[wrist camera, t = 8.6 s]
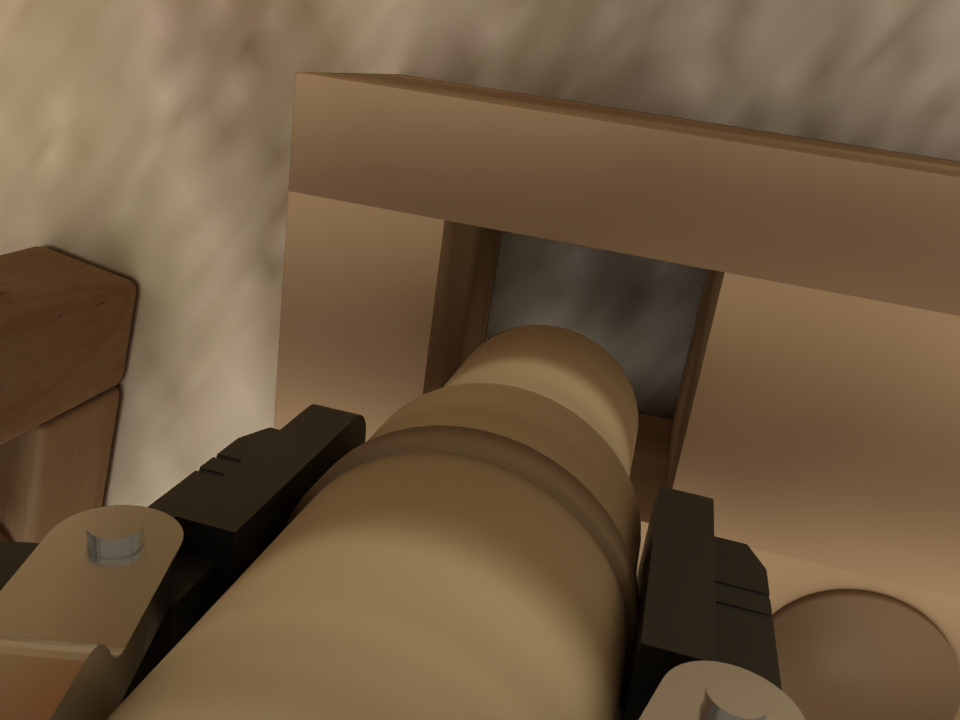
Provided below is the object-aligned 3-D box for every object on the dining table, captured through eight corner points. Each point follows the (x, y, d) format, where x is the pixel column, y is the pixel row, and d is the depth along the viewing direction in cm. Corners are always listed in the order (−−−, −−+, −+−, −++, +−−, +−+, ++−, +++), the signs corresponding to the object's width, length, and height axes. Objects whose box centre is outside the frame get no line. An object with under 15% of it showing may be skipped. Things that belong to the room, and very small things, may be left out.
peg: (445, 281, 15) (-265, 831, 4) (685, 329, 14) (631, 1175, 3) (418, 492, 16) (-164, 1333, 5) (635, 546, 16) (478, 1652, 5)
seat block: (397, 74, 22) (289, 71, 16) (1171, 194, 19) (1380, 245, 13) (347, 568, 27) (252, 701, 21) (951, 730, 24) (1031, 939, 18)
